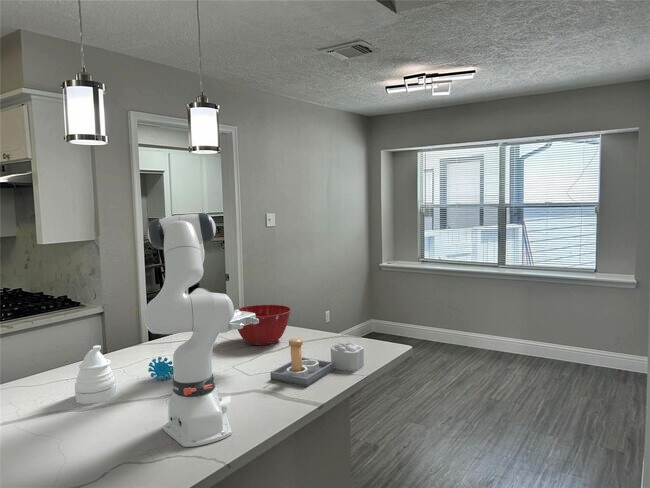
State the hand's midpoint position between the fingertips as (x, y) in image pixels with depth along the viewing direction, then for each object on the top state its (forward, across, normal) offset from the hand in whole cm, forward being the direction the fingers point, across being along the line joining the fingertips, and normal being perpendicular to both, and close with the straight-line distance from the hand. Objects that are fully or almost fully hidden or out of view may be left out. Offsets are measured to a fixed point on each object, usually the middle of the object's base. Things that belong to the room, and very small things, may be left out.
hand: (250, 323), depth 183 cm
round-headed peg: (+17, +5, +19) cm, 26 cm away
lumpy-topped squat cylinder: (+27, +26, +21) cm, 43 cm away
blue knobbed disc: (-30, -17, +20) cm, 40 cm away
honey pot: (-36, -41, +20) cm, 58 cm away
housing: (+17, +9, +20) cm, 28 cm away
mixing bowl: (-26, +39, +19) cm, 51 cm away
